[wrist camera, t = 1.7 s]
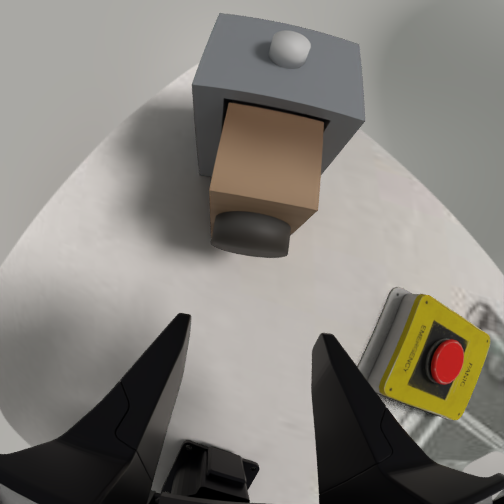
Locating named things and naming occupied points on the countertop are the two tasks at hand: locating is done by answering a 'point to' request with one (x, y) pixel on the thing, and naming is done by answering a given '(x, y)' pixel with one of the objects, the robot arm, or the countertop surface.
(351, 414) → the robot arm
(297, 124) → the plunger
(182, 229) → the countertop surface
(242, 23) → the housing
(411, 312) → the emergency button
